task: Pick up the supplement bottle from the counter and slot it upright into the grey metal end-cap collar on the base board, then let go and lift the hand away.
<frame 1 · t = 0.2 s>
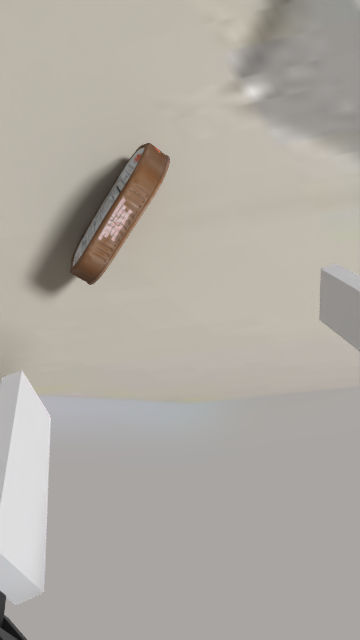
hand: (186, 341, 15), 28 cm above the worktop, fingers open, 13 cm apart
tin: (110, 206, 38), on the worktop
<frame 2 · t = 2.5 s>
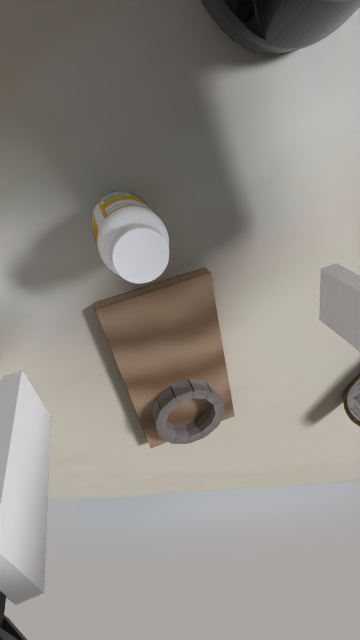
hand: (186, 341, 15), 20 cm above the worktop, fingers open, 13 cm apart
supplement bottle: (121, 220, 31), on the worktop
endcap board: (173, 364, 41), on the worktop
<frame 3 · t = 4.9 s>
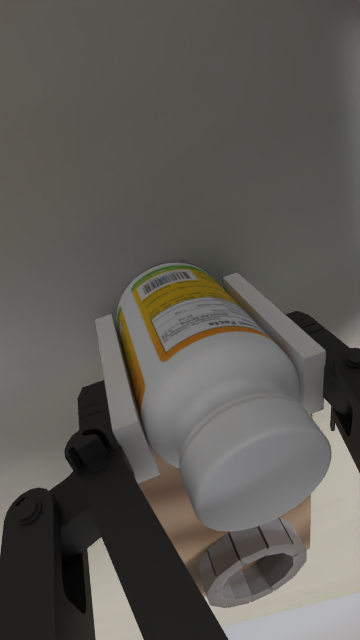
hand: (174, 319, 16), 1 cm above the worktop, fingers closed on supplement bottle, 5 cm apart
supplement bottle: (168, 309, 17), on the worktop, touching gripper
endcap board: (231, 497, 27), on the worktop
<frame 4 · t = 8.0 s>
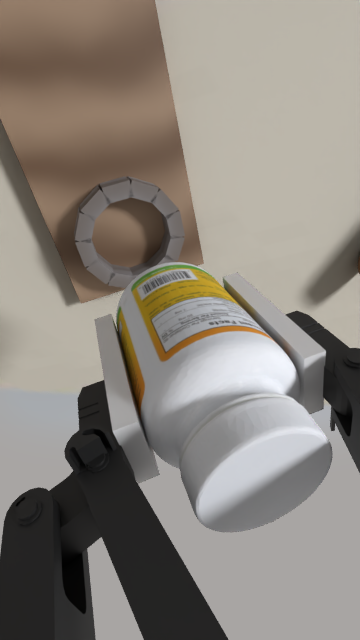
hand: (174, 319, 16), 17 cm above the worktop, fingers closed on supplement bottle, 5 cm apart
supplement bottle: (168, 309, 17), point 16 cm above the worktop, touching gripper
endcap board: (103, 154, 27), on the worktop
when the fingers open (4 cm above the worktop, at t = 11.0 s): supplement bottle drops 2 cm, resting on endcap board.
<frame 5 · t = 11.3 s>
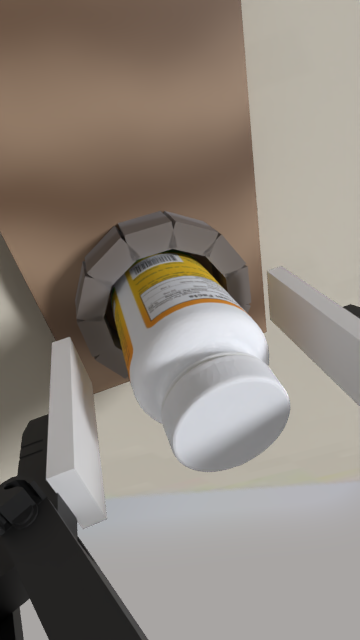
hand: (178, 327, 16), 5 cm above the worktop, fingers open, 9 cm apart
supplement bottle: (159, 291, 19), point 1 cm above the worktop, touching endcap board
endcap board: (124, 174, 17), on the worktop
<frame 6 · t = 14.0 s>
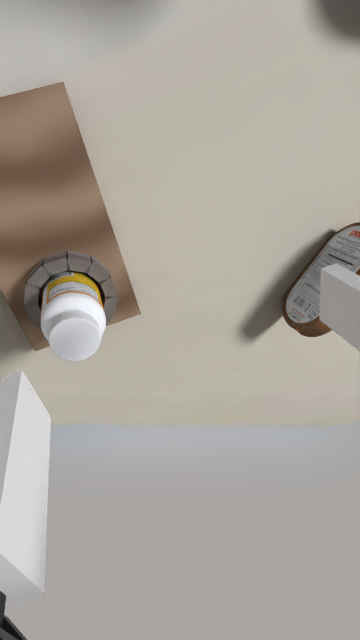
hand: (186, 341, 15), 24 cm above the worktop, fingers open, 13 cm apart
tin: (310, 267, 45), on the worktop
supplement bottle: (71, 291, 35), point 1 cm above the worktop, touching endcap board
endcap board: (47, 233, 33), on the worktop
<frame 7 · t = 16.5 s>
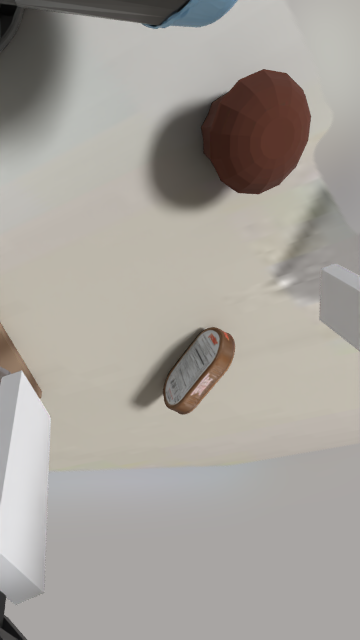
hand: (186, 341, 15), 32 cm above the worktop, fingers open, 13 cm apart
tin: (187, 354, 57), on the worktop
muffin: (234, 134, 42), on the worktop
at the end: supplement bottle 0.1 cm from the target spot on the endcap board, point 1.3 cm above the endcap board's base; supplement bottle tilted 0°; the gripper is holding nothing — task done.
